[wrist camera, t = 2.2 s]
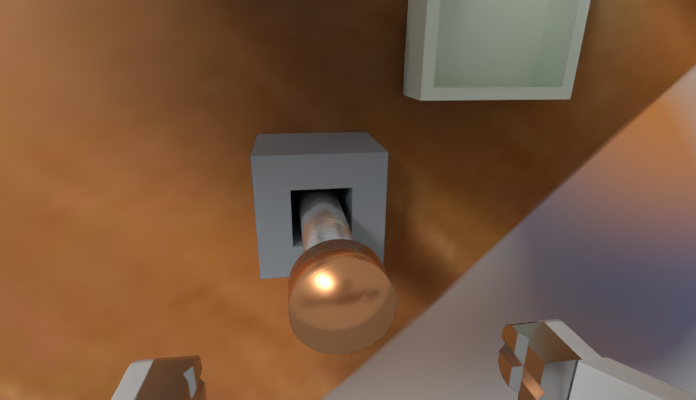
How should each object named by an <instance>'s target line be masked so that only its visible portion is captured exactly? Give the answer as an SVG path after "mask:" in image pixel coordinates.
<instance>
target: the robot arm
mask: <svg viewBox="0 0 696 400" xmlns="http://www.w3.org/2000/svg"><path fill="white" fill-rule="evenodd" d="M502 339H503V340H504V341H505V345H504V346H503V347H502V348H501V349H500V351H499V360H498V362H499V367H500V372H501V374H502V376H503V378H504V380H505V382H506V383H507V385H508V386H509V387H510V388H512V389H514V390H515V391H517V392H519V396H518V400H696V396H695V395H692V394H690V393H688V392H686V391H683V390H681V389H679V388H676V387H674V386H672V385H670V384H668V383H665V382H663V381H661V380H658V379H656V378H654V377H651V376H649V375H647V374H645V373H642V372H640V371H638V370H635V369H633V368H631V367H629V366H626V365H624V364H622V363H619V362H617V361H615V360H612V359H610V358H608V357H605V358H602V357H601V356H600V355H598V354H597V353H596V352H595V351H594V350H593V349H592V348H590V346H589V345H587V344H586V343H585V342H584V341H583V340H582V339H581V338H580V337H579V336H578V335H577V334H575V333H574V332H573V331H572V330H571V329H570V328H569V327H568V326H567V325H566V324H564V323H563V322H562V321H560V320H558V319H550V320H543V321H539V322H529V323H520V324H509V325H505V327H504V329H503V332H502ZM201 371H202V364H201V359H200V357H199V356H198V355H195V356H182V357H168V358H157V359H147V360H135V361H134V362H132V363H131V364H130V365H129V367H128V369H127V371H126V373H125V375H124V377H123V378H122V380H121V382H120V384H119V386H118V388H117V390H116V391H115V393H114V395H113V397H112V399H111V400H206V390H205V383H204V382H203V381H202V380H201V379H200V375H201Z"/></svg>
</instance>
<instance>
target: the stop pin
mask: <svg viewBox="0 0 696 400" xmlns="http://www.w3.org/2000/svg"><path fill="white" fill-rule="evenodd" d="M298 198H299V208H300V219H301V229H302V239H303V250H304V253H303V254H302V255H301V256H300V257H299V258H298V259H297V261H296V262H295V264H294V265H293V267H292V269H291V272H290V275H289V280H288V303H289V322H290V325H291V328H292V330H293V332H294V334H295V335H296V336H297V338H298V339H299V340H300V341H301V342H302V343H304V344H305V345H306V346H308V347H309V348H311V349H313V350H316V351H318V352H322V353H326V354H336V355H338V354H348V353H353V352H356V351H359V350H362V349H364V348H366V347H368V346H370V345H372V344H373V343H375V342H376V341H377V340H379V339H380V338H381V337H382V336H383V335H384V334H385V333H386V331H387V330H388V329H389V327H390V326H391V324H392V322H393V320H394V317H395V314H396V308H397V299H396V294H395V291H394V288H393V286H392V284H391V282H390V280H389V277H388V275H387V273H386V271H385V269H384V267H383V265H382V263H381V261H380V259H379V257H378V256H377V255H376V253H375V252H374V251H373V250H372V249H370V248H369V247H368V246H366V245H364V244H362V243H360V242H357V241H354V239H353V237H352V234H351V231H350V229H349V226H348V223H347V221H346V218H345V215H344V212H343V210H342V207H341V204H340V202H339V199H338V196H337V194H336V191H335V188H334V189H311V190H298Z"/></svg>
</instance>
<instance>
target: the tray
mask: <svg viewBox="0 0 696 400" xmlns="http://www.w3.org/2000/svg"><path fill="white" fill-rule="evenodd" d="M590 1H591V0H408V9H407V27H406V45H405V63H404V81H403V95H405V96H408V97H411V98H414V99H417V100H420V101H443V100H549V99H571V94H572V89H573V84H574V79H575V74H576V70H577V65H578V60H579V55H580V50H581V45H582V40H583V35H584V30H585V26H586V21H587V16H588V11H589V6H590Z"/></svg>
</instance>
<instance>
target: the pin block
mask: <svg viewBox="0 0 696 400" xmlns="http://www.w3.org/2000/svg"><path fill="white" fill-rule="evenodd" d="M250 159H251V171H252V183H253V194H254V206H255V218H256V230H257V242H258V254H259V266H260V278H261V279H266V278H280V277H289V275H290V272H291V269H292V267H293V265H294V264H295V262H296V261H297V259H298V258H299V257H300V256H301V255H302V254H303V253H304V250H303V239H302V229H301V219H300V208H299V207H296V208H291V190H311V189H334V188H338V199H339V202H340V204H341V207H342V210H343V212H344V215H345V218H346V221H347V223H348V226H349V229H350V231H351V234H352V237H353V239H354V241H357V242H360V243H362V244H364V245H366V246H368V247H369V248H370V249H372V250H373V251H374V252H375V253H376V255H377V256H378V257H379V259H380V261H381V263H382V265H383V262H384V240H385V218H386V196H387V174H388V151H387V150H386V149H385V148H384V147H382V146H381V145H380V144H379V143H378V142H377V141H376V140H375V139H374V138H373V137H372V136H371V135H370V134H369V133H367V132H322V133H274V134H258V135H257V138H256V141H255V144H254V147H253V150H252V153H251V156H250Z"/></svg>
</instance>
